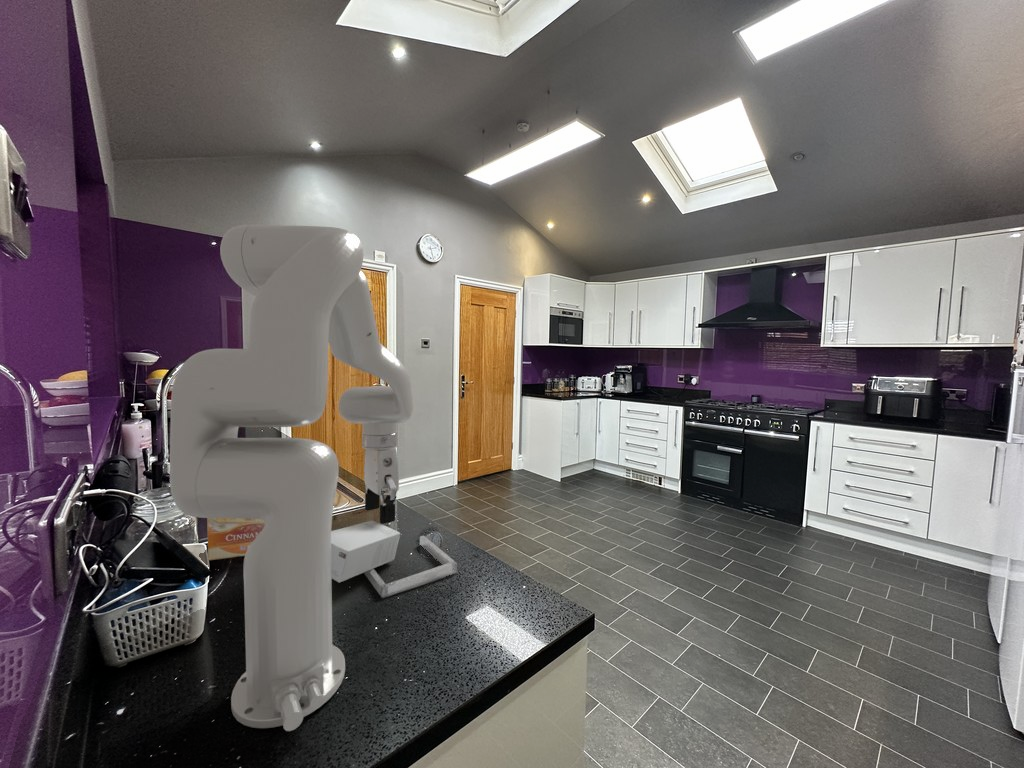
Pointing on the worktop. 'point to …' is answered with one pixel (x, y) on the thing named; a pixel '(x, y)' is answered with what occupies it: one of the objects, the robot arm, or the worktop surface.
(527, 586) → the worktop surface
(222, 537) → the coffeecake box
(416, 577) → the bracket
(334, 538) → the skincare box
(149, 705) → the worktop surface
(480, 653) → the worktop surface
